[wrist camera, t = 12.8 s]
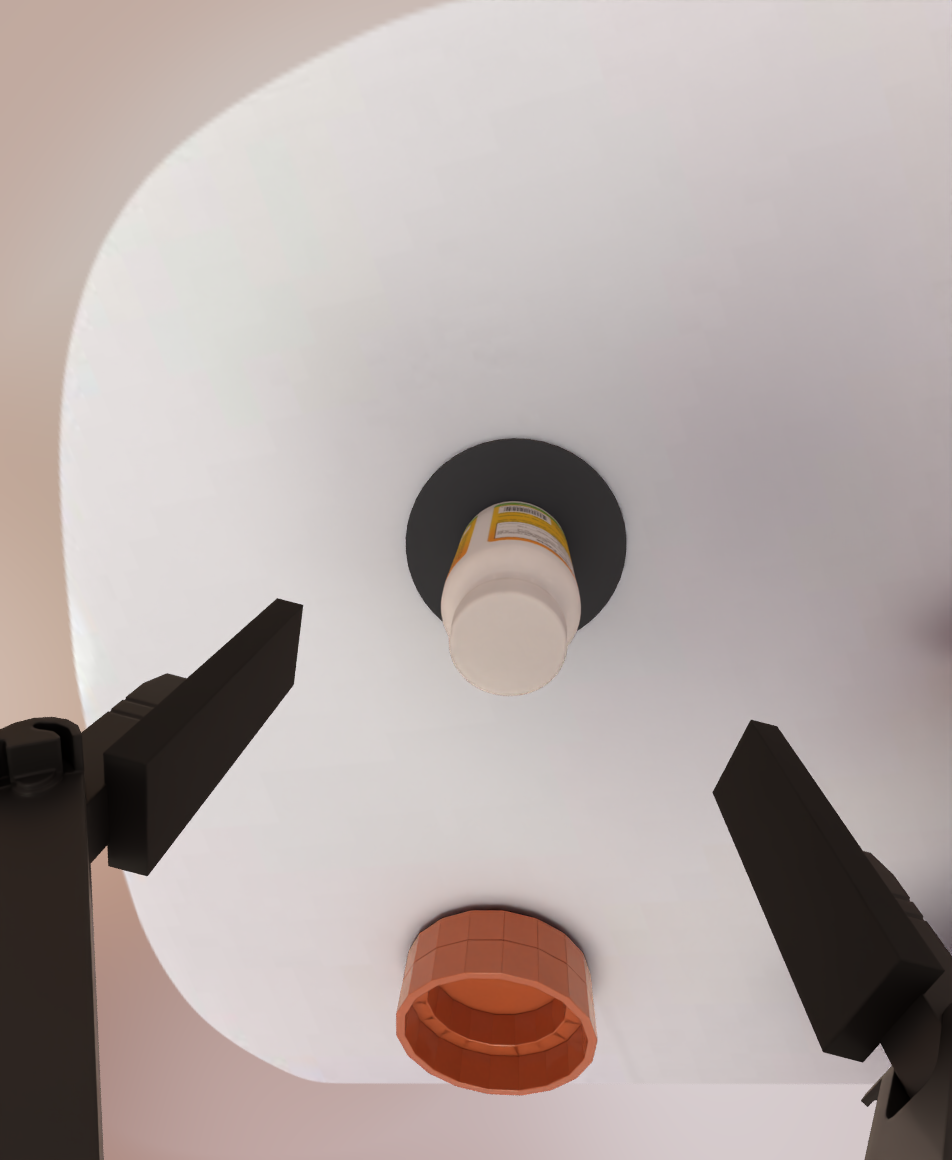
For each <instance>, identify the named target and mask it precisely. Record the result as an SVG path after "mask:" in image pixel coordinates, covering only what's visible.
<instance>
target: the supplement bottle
mask: <svg viewBox="0 0 952 1160" xmlns="http://www.w3.org/2000/svg"><path fill="white" fill-rule="evenodd" d="M441 615H442V620H443V624H444V627H445V630H446V632H447V634H448V636H449V650H450V654H451V658H452V660H453V663H454V665H455V667H456V668H457V670H458V671H459V673H460V674H461V675H462V676H463V677H464V678H465V679H466V680H467V681H468V682H469V683H471V684H472V685H474V686H475V687H477V688H479V689H481V690H483V691H485V692H488V693H492V694H495V695H502V696H516V695H523V694H527V693H530V692H533V691H535V690H538V689H540V688H541V687H543V686H544V685H546V684H547V683H549V682H550V681H551V680H552V679H553V678H554V677H555V676H556V675H557V673H558V672H559V670H560V669H561V667H562V665H563V663H564V661H565V658H566V653H567V647H568V645H569V644H570V643H571V641H572V639H573V638H574V636H575V634H576V631H577V629H578V626H579V622H580V615H581V602H580V595H579V589H578V585H577V582H576V578H575V574H574V570H573V565H572V561H571V557H570V553H569V549H568V544H567V541H566V538H565V535H564V533H563V530H562V529H561V527H560V525H559V524H558V522H557V521H556V520H555V519H554V518H553V517H552V516H551V515H550V514H548V513H547V512H546V511H544V510H543V509H541V508H539V507H537V506H535V505H532V504H529V503H525V502H519V501H508V502H502V503H498V504H494V505H492V506H490V507H488V508H486V509H484V510H483V511H481V512H480V513H479V514H477V515H476V516H475V517H474V518H473V519H472V521H471V522H470V523H469V525H468V526H467V528H466V529H465V531H464V533H463V535H462V538H461V541H460V543H459V547H458V549H457V552H456V555H455V558H454V560H453V563H452V565H451V568H450V571H449V573H448V576H447V579H446V582H445V585H444V589H443V593H442V599H441Z"/></svg>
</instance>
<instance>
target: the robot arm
mask: <svg viewBox="0 0 952 1160" xmlns="http://www.w3.org/2000/svg"><path fill="white" fill-rule="evenodd" d="M302 610H303V605H301V604H297V603H293V602H289V601H285V600H282V599H278V598H277V599H276V600H275V601H274V602H273V603H271V604H270V605H269V606H268V607H267V608H266V609H265V610H264V611H262V612H261V613H260V614H259V615H258V616H257V617H256V618H255V619H253V620H252V621H251V622H250V623H249V624H248V625H247V626H246V627H244V628H243V629H242V630H241V631H240V632H239V633H238V634H236V635H235V636H234V637H233V638H232V639H231V640H230V641H229V642H227V643H226V644H225V645H224V646H223V647H222V648H221V649H220V650H218V651H217V652H216V653H215V654H214V655H213V656H212V657H211V658H209V659H208V660H207V661H206V662H205V663H204V664H203V665H202V666H200V667H199V668H198V669H197V670H196V671H195V672H194V673H193V674H191V675H190V676H189V677H188V678H183V677H179V676H175V675H171V674H168V673H167V674H164V675H162V676H159V677H157V678H155V679H152V680H150V681H147V682H145V683H143V684H142V685H140V686H139V687H138V688H137V689H135V690H134V691H133V692H132V693H131V694H129V695H128V696H127V697H126V699H125V700H122V701H121V702H119V703H118V704H117V705H116V706H114V707H113V708H112V709H111V711H110V712H107V713H106V714H104V715H103V716H102V717H101V718H99V719H98V720H97V721H96V722H94V723H93V724H92V725H91V726H89V727H88V728H87V729H86V730H84V731H83V732H82V733H81V731H80V729H79V727H78V725H76V724H74V723H73V722H71V721H69V720H67V719H61V718H56V717H43V718H32V719H28V720H24V721H20V722H16V723H13V724H11V725H9V726H7V727H5V728H3V729H0V1160H104V1156H103V1135H102V1134H103V1133H102V1112H101V1088H100V1066H99V1045H98V1044H99V1042H98V1021H97V1020H98V1019H97V996H96V974H95V951H94V928H93V906H92V882H91V863H92V861H93V860H94V859H95V858H96V857H97V856H98V855H99V854H100V853H101V851H102V850H103V849H104V848H105V847H106V846H108V866H110V867H114V868H118V869H122V870H125V871H129V872H133V873H137V874H141V875H145V876H148V875H149V874H150V872H151V871H152V870H153V868H154V867H155V866H156V864H157V863H158V862H159V861H160V859H161V858H162V857H163V855H164V854H165V853H166V851H167V850H168V849H169V847H170V846H171V845H172V844H173V842H174V841H175V840H176V838H177V837H178V836H179V834H180V833H181V832H182V830H183V829H184V828H185V826H186V825H187V824H188V823H189V821H190V820H191V819H192V817H193V816H194V815H195V813H196V812H197V811H198V809H199V808H200V807H201V806H202V804H203V803H204V802H205V800H206V799H207V798H208V796H209V795H210V794H211V792H212V791H213V790H214V788H215V787H216V786H217V785H218V783H219V782H220V781H221V779H222V778H223V777H224V775H225V774H226V773H227V771H228V770H229V769H230V768H231V766H232V765H233V764H234V762H235V761H236V760H237V758H238V757H239V756H240V754H241V753H242V752H243V750H244V749H245V748H246V747H247V745H248V744H249V743H250V741H251V740H252V739H253V737H254V736H255V735H256V733H257V732H258V731H259V730H260V728H261V727H262V726H263V724H264V723H265V722H266V720H267V719H268V718H269V716H270V715H271V714H272V713H273V711H274V710H275V709H276V707H277V706H278V705H279V703H280V702H281V701H282V699H283V698H284V697H285V695H286V694H287V693H288V692H289V690H290V689H291V688H292V686H293V685H294V678H295V670H296V661H297V653H298V644H299V636H300V627H301V619H302ZM713 795H714V797H715V799H716V802H717V804H718V806H719V809H720V811H721V813H722V816H723V818H724V820H725V823H726V825H727V827H728V830H729V832H730V835H731V837H732V839H733V842H734V844H735V846H736V849H737V851H738V853H739V856H740V858H741V860H742V863H743V865H744V867H745V870H746V872H747V874H748V877H749V879H750V881H751V884H752V886H753V889H754V891H755V893H756V896H757V898H758V900H759V903H760V905H761V907H762V910H763V912H764V914H765V917H766V919H767V921H768V924H769V926H770V928H771V931H772V933H773V935H774V938H775V940H776V943H777V945H778V947H779V950H780V952H781V954H782V957H783V959H784V961H785V964H786V966H787V968H788V971H789V973H790V975H791V978H792V980H793V982H794V985H795V987H796V989H797V992H798V994H799V997H800V999H801V1001H802V1004H803V1006H804V1008H805V1011H806V1013H807V1015H808V1018H809V1020H810V1022H811V1025H812V1027H813V1029H814V1032H815V1034H816V1036H817V1039H818V1041H819V1043H820V1046H821V1048H822V1051H823V1052H825V1053H829V1054H832V1055H836V1056H840V1057H844V1058H848V1059H852V1060H856V1061H859V1062H864V1061H865V1060H866V1058H867V1057H868V1056H869V1055H870V1054H871V1053H872V1052H873V1051H874V1050H875V1048H876V1047H877V1046H878V1045H879V1044H880V1043H881V1045H882V1047H883V1049H884V1051H885V1053H886V1055H887V1057H888V1059H889V1061H890V1062H891V1064H892V1066H891V1067H890V1068H889V1069H888V1071H887V1072H886V1073H885V1074H884V1075H883V1076H882V1077H881V1078H880V1079H879V1080H878V1081H877V1082H876V1083H875V1084H874V1085H873V1087H872V1088H871V1089H870V1090H869V1091H868V1092H867V1093H866V1094H865V1096H864V1097H863V1099H862V1100H861V1101H862V1102H863V1103H864V1104H865V1105H866V1106H867V1107H868V1106H869V1105H870V1104H871V1103H872V1102H873V1101H874V1100H877V1104H876V1109H875V1113H874V1118H873V1123H872V1127H871V1132H870V1137H869V1141H868V1146H867V1151H866V1156H865V1160H952V956H951V955H950V953H949V952H948V950H947V949H946V948H945V946H944V945H943V943H942V942H941V941H940V939H939V938H938V936H937V935H936V934H935V932H934V931H933V929H932V928H931V927H930V925H929V924H928V922H927V921H924V920H923V915H922V914H921V913H920V911H919V910H918V908H917V907H916V906H915V904H914V903H913V902H910V900H909V899H910V897H909V896H908V894H907V893H906V892H905V890H904V889H903V887H902V886H901V885H900V883H899V882H898V880H897V879H896V878H895V876H894V875H893V874H892V873H891V872H890V871H889V870H888V869H887V868H886V867H885V866H884V865H883V864H882V863H881V862H880V861H879V860H877V859H876V858H875V857H874V856H873V855H872V854H871V853H869V852H865V851H862V849H861V848H860V846H859V845H858V843H857V842H856V840H855V839H854V837H853V836H852V835H851V833H850V832H849V830H848V829H847V827H846V826H845V824H844V823H843V821H842V820H841V819H840V817H839V816H838V814H837V813H836V811H835V810H834V808H833V807H832V805H831V804H830V803H829V801H828V800H827V798H826V797H825V795H824V794H823V792H822V791H821V789H820V788H819V787H818V785H817V784H816V782H815V781H814V779H813V778H812V776H811V775H810V773H809V772H808V771H807V769H806V768H805V766H804V765H803V763H802V762H801V760H800V759H799V757H798V756H797V755H796V753H795V752H794V750H793V749H792V747H791V746H790V744H789V743H788V741H787V740H786V739H785V737H784V736H783V734H782V733H781V731H780V730H779V728H778V727H777V726H774V725H770V724H766V723H762V722H758V721H754V720H750V722H749V724H748V726H747V728H746V730H745V732H744V734H743V736H742V738H741V739H740V741H739V743H738V745H737V747H736V749H735V751H734V753H733V755H732V757H731V758H730V760H729V762H728V764H727V766H726V768H725V770H724V772H723V774H722V776H721V777H720V779H719V781H718V783H717V785H716V787H715V789H714V791H713Z"/></svg>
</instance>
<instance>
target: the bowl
mask: <svg viewBox="0 0 952 1160" xmlns="http://www.w3.org/2000/svg"><path fill="white" fill-rule="evenodd" d="M396 1035H397V1037H398V1039H399V1041H400V1043H401V1044H402V1046H403V1048H404V1050H405V1051H406V1053H407V1055H408V1056H409V1057H410V1058H411V1059H413V1060H414V1061H415V1062H416V1063H417V1064H418V1065H420V1066H421V1067H422V1068H423V1069H424V1070H426V1071H427V1072H428V1073H430V1074H432V1075H434V1076H436V1077H438V1078H440V1079H442V1080H444V1081H446V1082H448V1083H451V1084H453V1085H455V1086H457V1087H461V1088H466V1089H469V1090H473V1091H478V1092H482V1093H486V1094H500V1095H527V1094H532V1093H538V1092H544V1091H550V1090H553V1089H555V1088H557V1087H559V1086H561V1085H564V1084H566V1083H568V1082H570V1081H572V1080H574V1079H576V1078H577V1077H578V1076H579V1075H580V1074H581V1073H582V1072H583V1071H584V1070H585V1069H586V1068H587V1067H588V1066H589V1065H590V1064H591V1063H592V1061H593V1057H594V1053H595V1049H596V1045H597V1031H596V1021H595V1012H594V1003H593V994H592V984H591V975H590V972H589V969H588V966H587V963H586V960H585V957H584V954H583V952H582V951H581V950H580V949H579V948H578V947H577V946H576V945H575V944H574V943H573V942H572V941H571V940H570V939H569V937H568V936H567V935H566V934H564V933H563V932H561V931H559V930H557V929H556V928H554V927H552V926H550V925H548V924H546V923H544V922H543V921H541V920H539V919H536V918H533V917H529V916H525V915H521V914H517V913H512V912H508V911H504V910H471V911H467V912H463V913H459V914H456V915H452V916H448V917H444V918H442V919H440V920H438V921H437V922H435V923H434V924H433V925H431V926H430V927H428V928H427V929H425V930H424V931H422V932H421V933H419V935H418V937H417V938H416V940H415V942H414V943H413V945H412V947H411V948H410V950H409V952H408V958H407V963H406V968H405V973H404V978H403V983H402V987H401V992H400V998H399V1003H398V1008H397V1013H396Z"/></svg>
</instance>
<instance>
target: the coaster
mask: <svg viewBox="0 0 952 1160" xmlns="http://www.w3.org/2000/svg"><path fill="white" fill-rule="evenodd" d="M508 501H519V502H525V503H529V504H532V505H535V506H537V507H539V508H541V509H543V510H544V511H546V512H547V513H548V514H550V515H551V516H552V517H553V518H554V519H555V520H556V521H557V522H558V524H559V525H560V527H561V529H562V530H563V533H564V535H565V538H566V541H567V544H568V549H569V553H570V557H571V561H572V565H573V570H574V574H575V578H576V582H577V585H578V589H579V595H580V602H581V615H580V622H579V626H578V629H577V631H578V630H579V629H581V628H582V627H583V626H585V625H586V624H587V623H589V622H590V621H591V620H592V619H593V618H594V617H595V616H596V615H597V614H598V613H599V612H600V611H601V610H602V608H603V607H604V606H605V605H606V604H607V602H608V601H609V599H610V598H611V596H612V594H613V593H614V591H615V589H616V587H617V584H618V582H619V580H620V578H621V574H622V571H623V567H624V563H625V556H626V532H625V525H624V521H623V517H622V514H621V510H620V508H619V506H618V503H617V501H616V499H615V497H614V495H613V493H612V492H611V490H610V489H609V487H608V486H607V484H606V483H605V481H604V480H603V479H602V478H601V477H600V475H599V474H598V473H597V472H596V471H595V470H594V469H593V468H592V467H590V466H589V465H588V464H587V463H586V462H585V461H583V460H582V459H580V458H579V457H577V456H576V455H574V454H573V453H571V452H569V451H567V450H565V449H563V448H561V447H558V446H555V445H552V444H549V443H546V442H542V441H537V440H531V439H515V438H513V439H502V440H495V441H491V442H486V443H482V444H480V445H477V446H474V447H472V448H469V449H467V450H465V451H463V452H462V453H460V454H458V455H456V456H455V457H453V458H452V459H450V460H449V461H448V462H446V463H445V464H444V465H443V466H442V467H441V468H439V469H438V470H437V471H436V472H435V473H434V474H433V475H432V477H431V478H430V479H429V480H428V482H427V483H426V484H425V486H424V487H423V488H422V490H421V492H420V494H419V495H418V497H417V499H416V501H415V503H414V506H413V508H412V511H411V514H410V518H409V521H408V525H407V534H406V554H407V561H408V566H409V570H410V573H411V576H412V579H413V582H414V584H415V586H416V588H417V590H418V592H419V594H420V595H421V597H422V599H423V600H424V602H425V603H426V604H427V606H428V607H429V608H430V609H431V611H432V612H433V613H434V614H435V615H436V616H437V617H438V618H439V619H440V620H441V621H443V620H442V615H441V599H442V593H443V589H444V585H445V582H446V579H447V576H448V573H449V571H450V568H451V565H452V563H453V560H454V558H455V555H456V552H457V549H458V547H459V543H460V541H461V538H462V535H463V533H464V531H465V529H466V528H467V526H468V525H469V523H470V522H471V521H472V519H473V518H474V517H475V516H476V515H477V514H479V513H480V512H481V511H483V510H484V509H486V508H488V507H490V506H492V505H494V504H498V503H502V502H508Z"/></svg>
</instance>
